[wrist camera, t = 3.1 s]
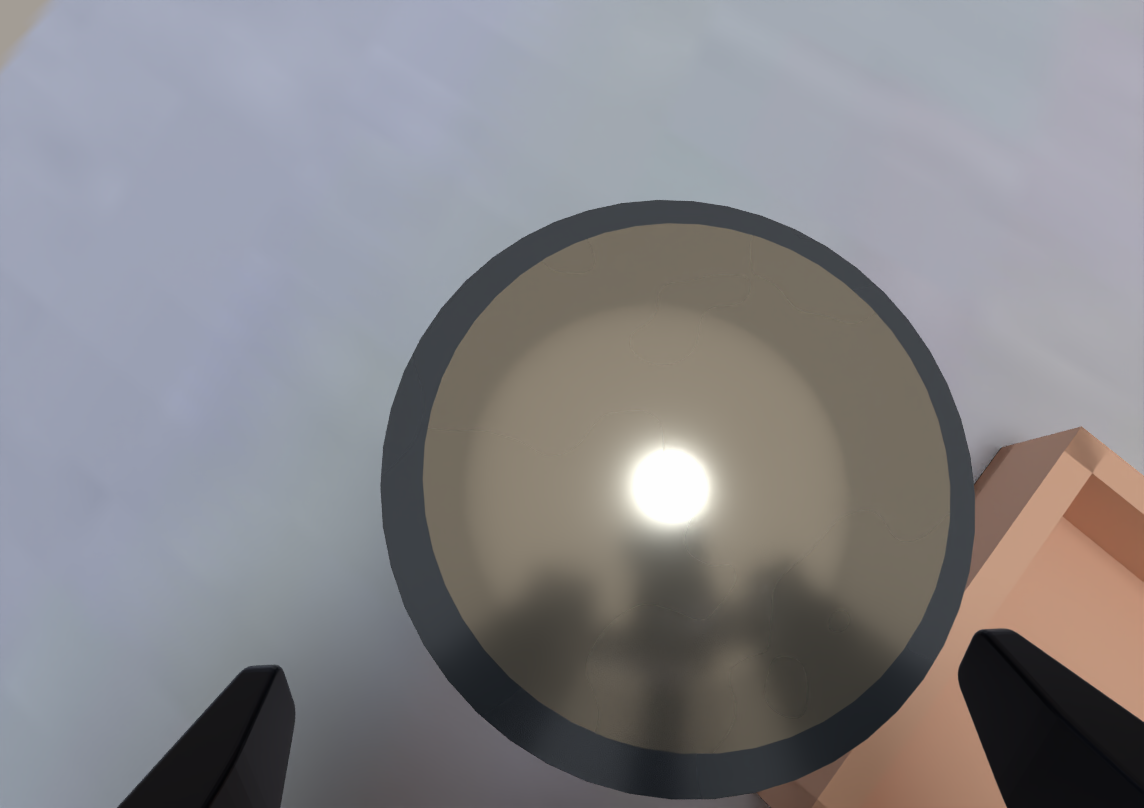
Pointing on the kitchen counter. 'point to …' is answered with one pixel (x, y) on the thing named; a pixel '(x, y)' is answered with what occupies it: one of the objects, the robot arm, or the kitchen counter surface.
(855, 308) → the dark grey cylinder
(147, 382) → the kitchen counter surface
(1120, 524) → the terracotta bin
